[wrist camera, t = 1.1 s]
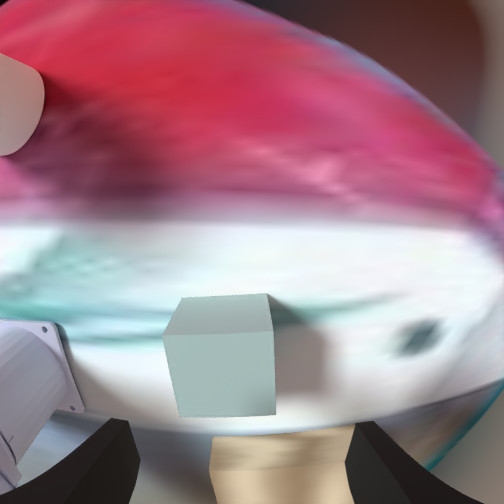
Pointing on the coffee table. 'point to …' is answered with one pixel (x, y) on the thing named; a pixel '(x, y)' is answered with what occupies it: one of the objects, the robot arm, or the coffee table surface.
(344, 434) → the beech block
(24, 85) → the can
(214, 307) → the teal cube
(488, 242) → the coffee table surface
